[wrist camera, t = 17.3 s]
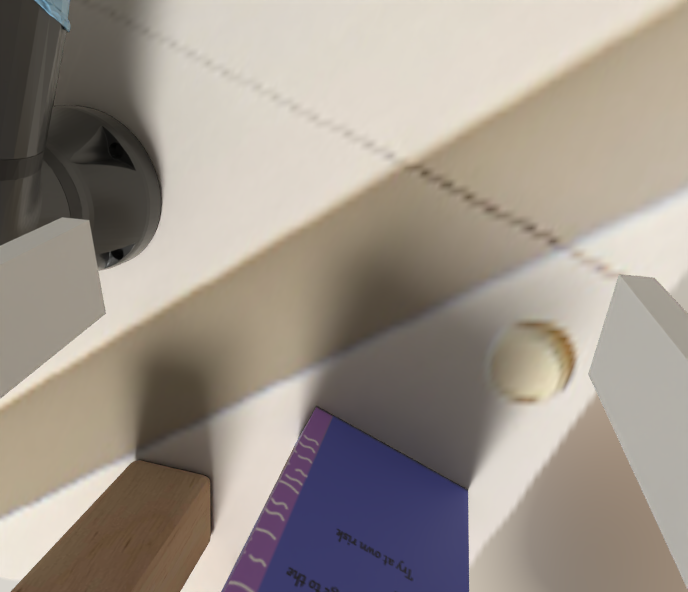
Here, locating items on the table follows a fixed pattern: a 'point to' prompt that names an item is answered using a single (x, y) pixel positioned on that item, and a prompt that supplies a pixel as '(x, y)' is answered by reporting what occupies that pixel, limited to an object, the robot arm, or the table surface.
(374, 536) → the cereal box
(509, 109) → the table surface
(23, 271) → the robot arm
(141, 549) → the wooden block
